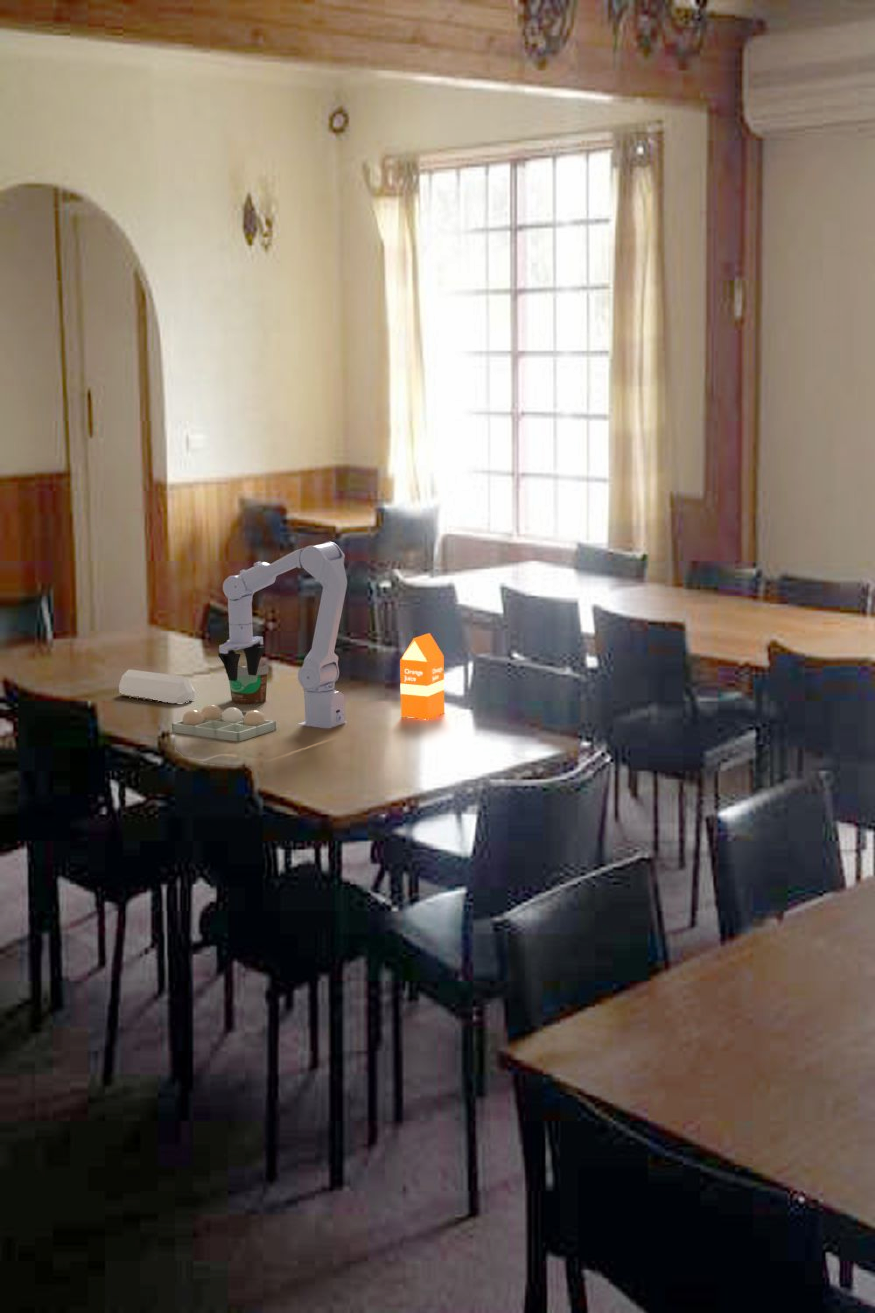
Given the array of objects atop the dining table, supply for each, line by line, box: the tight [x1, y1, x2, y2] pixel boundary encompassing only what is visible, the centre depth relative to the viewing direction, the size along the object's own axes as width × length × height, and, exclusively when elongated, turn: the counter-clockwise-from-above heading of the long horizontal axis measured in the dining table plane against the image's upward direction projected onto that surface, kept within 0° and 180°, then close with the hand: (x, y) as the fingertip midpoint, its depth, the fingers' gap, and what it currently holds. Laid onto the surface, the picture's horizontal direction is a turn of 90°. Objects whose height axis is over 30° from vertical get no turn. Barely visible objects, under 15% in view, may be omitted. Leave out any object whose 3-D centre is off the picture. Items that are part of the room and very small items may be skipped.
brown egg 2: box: [201, 703, 223, 720], centre depth 397 cm, size 5×5×5 cm
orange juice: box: [399, 632, 445, 721], centre depth 405 cm, size 8×9×20 cm
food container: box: [225, 665, 270, 705], centre depth 422 cm, size 12×6×10 cm, turn 62°
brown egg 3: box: [243, 709, 266, 727], centre depth 390 cm, size 5×5×5 cm
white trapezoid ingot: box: [118, 669, 196, 704], centre depth 431 cm, size 7×7×24 cm
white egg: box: [222, 706, 244, 723], centre depth 393 cm, size 5×5×5 cm
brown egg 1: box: [182, 709, 204, 726], centre depth 391 cm, size 5×5×5 cm
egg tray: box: [171, 716, 277, 743], centre depth 391 cm, size 20×14×3 cm
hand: (242, 677), depth 406 cm, fingers open, 7 cm apart
